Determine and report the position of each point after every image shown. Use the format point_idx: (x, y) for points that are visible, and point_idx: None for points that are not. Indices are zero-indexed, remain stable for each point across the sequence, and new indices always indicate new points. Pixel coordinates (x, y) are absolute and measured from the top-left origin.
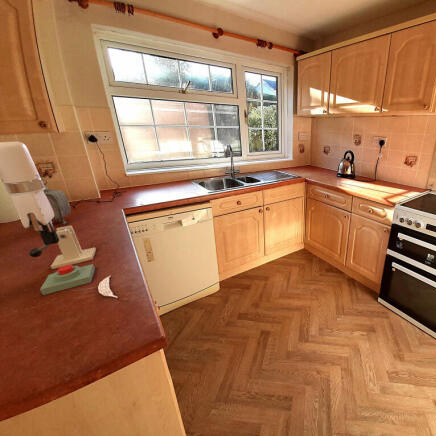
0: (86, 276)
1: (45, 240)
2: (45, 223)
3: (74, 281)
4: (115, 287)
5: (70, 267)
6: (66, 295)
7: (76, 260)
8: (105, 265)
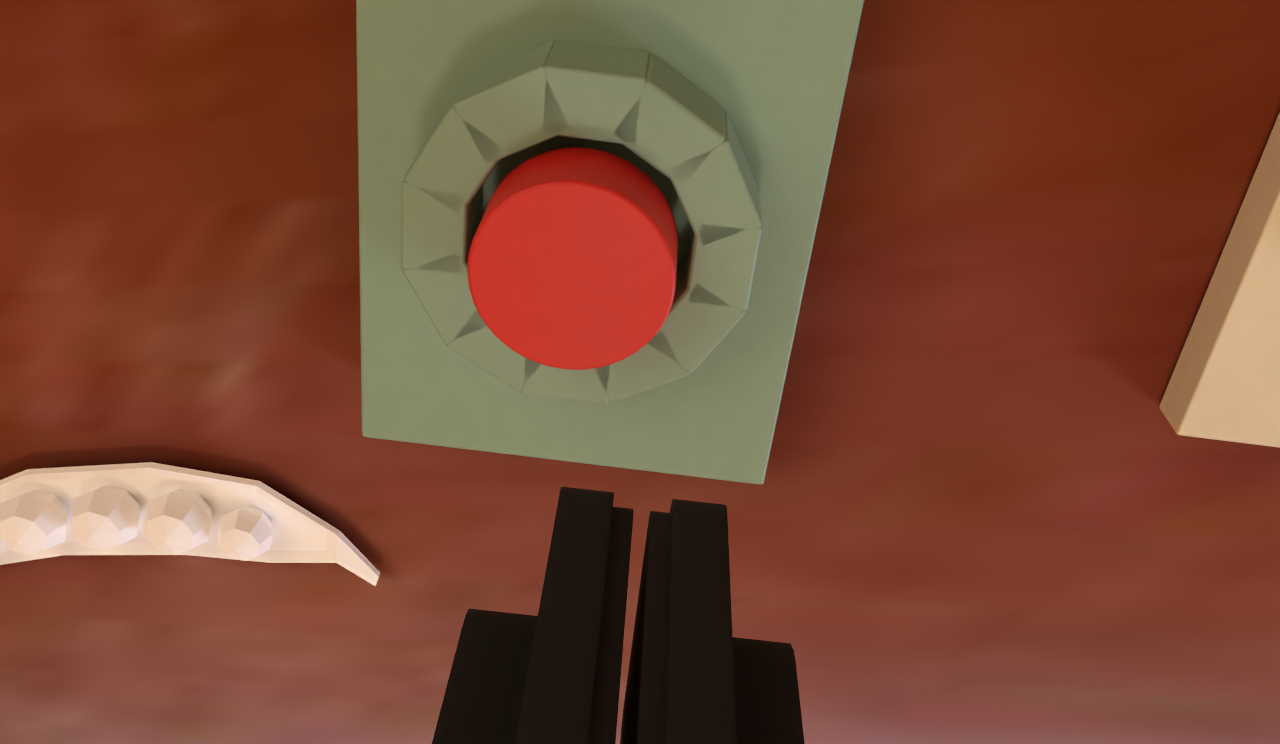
0: (391, 416)
1: (533, 631)
2: None
3: (363, 279)
4: (101, 584)
5: (521, 354)
6: (194, 143)
7: (1256, 246)
8: (779, 533)
